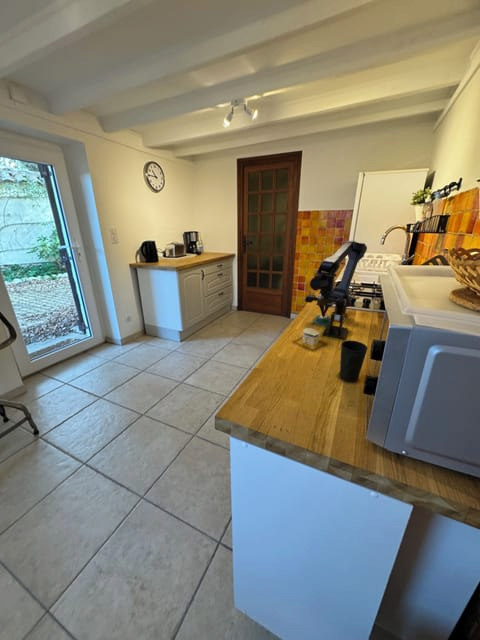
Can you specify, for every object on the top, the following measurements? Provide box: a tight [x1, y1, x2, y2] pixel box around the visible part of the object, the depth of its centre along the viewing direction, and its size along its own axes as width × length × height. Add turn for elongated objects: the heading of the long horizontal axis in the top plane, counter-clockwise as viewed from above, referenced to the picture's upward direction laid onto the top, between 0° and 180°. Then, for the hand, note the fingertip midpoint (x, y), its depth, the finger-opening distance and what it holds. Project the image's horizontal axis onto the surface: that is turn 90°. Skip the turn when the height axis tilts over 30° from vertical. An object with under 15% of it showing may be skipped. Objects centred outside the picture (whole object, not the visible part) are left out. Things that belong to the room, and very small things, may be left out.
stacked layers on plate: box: [301, 327, 321, 347], centre depth 108 cm, size 10×9×6 cm
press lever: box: [334, 315, 341, 323], centre depth 119 cm, size 13×3×3 cm, turn 152°
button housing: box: [312, 314, 331, 327], centre depth 129 cm, size 10×8×3 cm
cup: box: [339, 340, 368, 383], centre depth 83 cm, size 8×8×12 cm
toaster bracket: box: [322, 311, 349, 341], centre depth 115 cm, size 12×9×10 cm
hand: (323, 316), depth 129 cm, fingers closed, pressing on cancel button
